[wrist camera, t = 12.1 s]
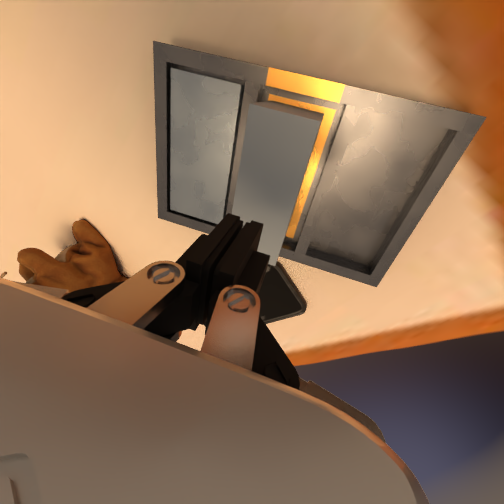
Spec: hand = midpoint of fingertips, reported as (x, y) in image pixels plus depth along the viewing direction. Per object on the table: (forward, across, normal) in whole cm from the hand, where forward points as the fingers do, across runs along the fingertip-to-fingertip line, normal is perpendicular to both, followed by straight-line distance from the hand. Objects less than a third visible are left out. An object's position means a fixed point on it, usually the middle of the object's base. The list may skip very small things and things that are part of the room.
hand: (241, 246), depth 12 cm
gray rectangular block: (+12, 0, 0) cm, 12 cm away
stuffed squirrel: (+13, +21, +20) cm, 32 cm away
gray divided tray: (+13, 0, 0) cm, 13 cm away
